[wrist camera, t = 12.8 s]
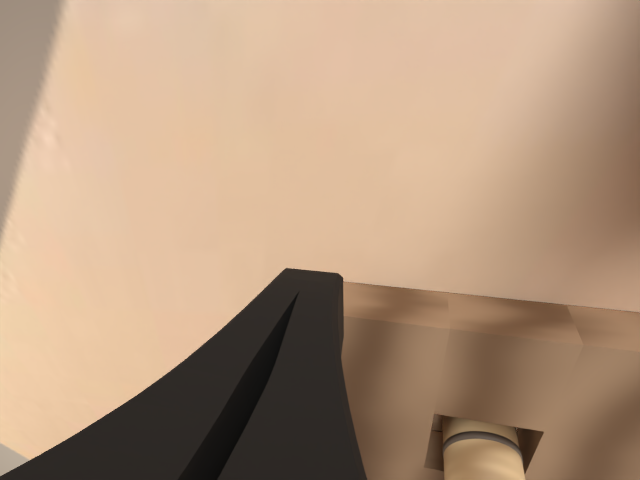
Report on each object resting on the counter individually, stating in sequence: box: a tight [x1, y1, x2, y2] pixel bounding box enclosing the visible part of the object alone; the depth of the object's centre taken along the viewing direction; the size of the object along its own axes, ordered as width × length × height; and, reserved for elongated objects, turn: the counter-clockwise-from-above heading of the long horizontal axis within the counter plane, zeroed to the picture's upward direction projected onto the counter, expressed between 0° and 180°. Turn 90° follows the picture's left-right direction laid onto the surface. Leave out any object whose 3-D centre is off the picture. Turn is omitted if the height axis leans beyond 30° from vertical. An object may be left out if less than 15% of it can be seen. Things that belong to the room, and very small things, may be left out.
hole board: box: [341, 282, 640, 480], centre depth 23 cm, size 20×18×2 cm
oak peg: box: [442, 415, 525, 480], centre depth 22 cm, size 4×4×6 cm
